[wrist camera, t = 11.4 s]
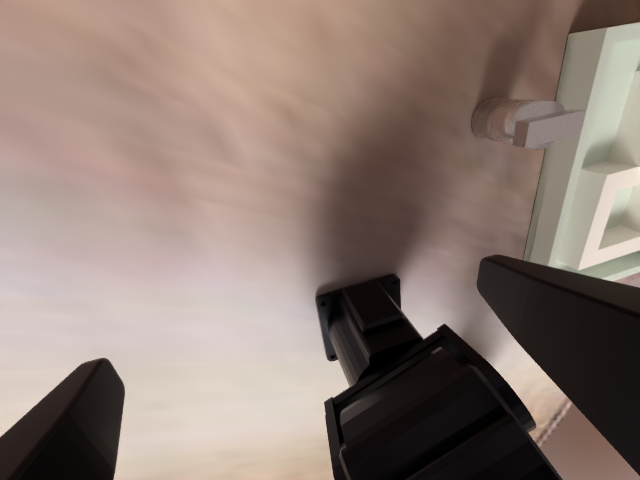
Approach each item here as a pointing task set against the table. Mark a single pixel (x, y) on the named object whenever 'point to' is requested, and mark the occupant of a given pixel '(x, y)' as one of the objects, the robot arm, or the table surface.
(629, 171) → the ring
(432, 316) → the table surface
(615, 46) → the tray
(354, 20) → the table surface
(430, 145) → the table surface
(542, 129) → the grey knob with bar
